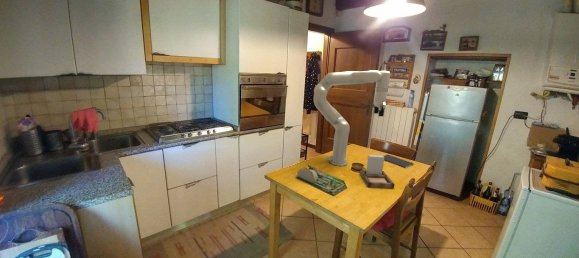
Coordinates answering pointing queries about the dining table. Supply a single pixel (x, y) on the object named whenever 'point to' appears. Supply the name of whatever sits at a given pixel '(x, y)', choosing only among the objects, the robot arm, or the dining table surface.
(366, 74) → the robot arm
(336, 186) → the green board with half-disc
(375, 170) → the acrylic panel
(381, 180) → the offcut top
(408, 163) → the notebook
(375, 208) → the dining table surface
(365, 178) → the brown wooden tray
